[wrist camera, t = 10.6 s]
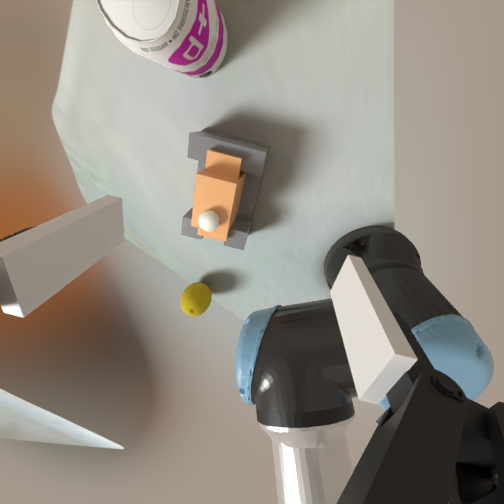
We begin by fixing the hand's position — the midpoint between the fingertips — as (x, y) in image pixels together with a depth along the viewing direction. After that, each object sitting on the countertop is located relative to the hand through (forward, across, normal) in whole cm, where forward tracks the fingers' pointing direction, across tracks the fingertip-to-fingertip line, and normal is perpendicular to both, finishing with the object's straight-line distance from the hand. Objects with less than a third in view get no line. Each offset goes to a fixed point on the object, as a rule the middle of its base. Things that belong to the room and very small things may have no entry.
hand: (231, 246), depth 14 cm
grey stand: (+27, +5, +4) cm, 28 cm away
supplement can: (+27, +12, -13) cm, 32 cm away
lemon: (+27, +7, +26) cm, 38 cm away
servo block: (+26, +5, +4) cm, 27 cm away
